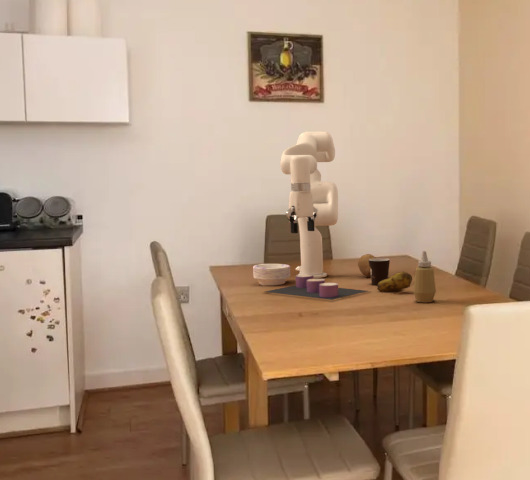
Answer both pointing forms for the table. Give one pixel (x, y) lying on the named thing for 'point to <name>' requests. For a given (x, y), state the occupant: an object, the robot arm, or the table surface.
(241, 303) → the table surface
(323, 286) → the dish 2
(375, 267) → the coffee mug
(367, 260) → the natural sponge
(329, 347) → the table surface
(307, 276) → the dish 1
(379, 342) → the table surface
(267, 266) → the paper bowls
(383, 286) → the potato
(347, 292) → the placemat
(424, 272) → the squeeze bottle
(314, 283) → the dish mid
